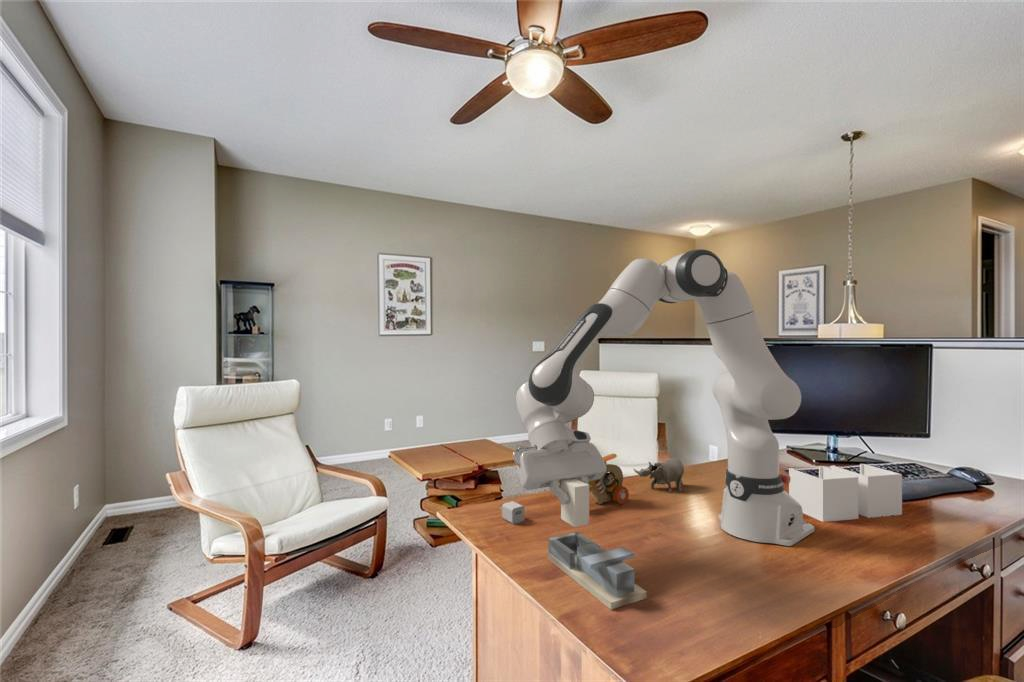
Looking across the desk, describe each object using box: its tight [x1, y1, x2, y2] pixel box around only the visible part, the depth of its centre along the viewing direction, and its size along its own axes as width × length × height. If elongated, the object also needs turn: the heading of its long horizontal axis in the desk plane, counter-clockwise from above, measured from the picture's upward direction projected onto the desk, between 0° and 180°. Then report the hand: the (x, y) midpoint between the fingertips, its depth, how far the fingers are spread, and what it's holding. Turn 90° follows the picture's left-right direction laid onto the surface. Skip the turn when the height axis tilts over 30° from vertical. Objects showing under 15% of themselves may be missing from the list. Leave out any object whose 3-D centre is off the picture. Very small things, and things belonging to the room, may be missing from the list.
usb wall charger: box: [498, 500, 526, 525], centre depth 120 cm, size 4×7×4 cm, turn 37°
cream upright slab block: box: [560, 479, 590, 528], centre depth 96 cm, size 4×5×8 cm
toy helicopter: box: [588, 453, 630, 505], centre depth 131 cm, size 8×21×14 cm, turn 122°
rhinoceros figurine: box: [633, 457, 685, 493], centre depth 145 cm, size 8×14×15 cm
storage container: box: [788, 463, 903, 523], centre depth 126 cm, size 25×11×11 cm, turn 102°
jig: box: [546, 531, 648, 611], centre depth 90 cm, size 10×21×6 cm, turn 27°
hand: (576, 501), depth 95 cm, fingers closed on cream upright slab block, 3 cm apart
